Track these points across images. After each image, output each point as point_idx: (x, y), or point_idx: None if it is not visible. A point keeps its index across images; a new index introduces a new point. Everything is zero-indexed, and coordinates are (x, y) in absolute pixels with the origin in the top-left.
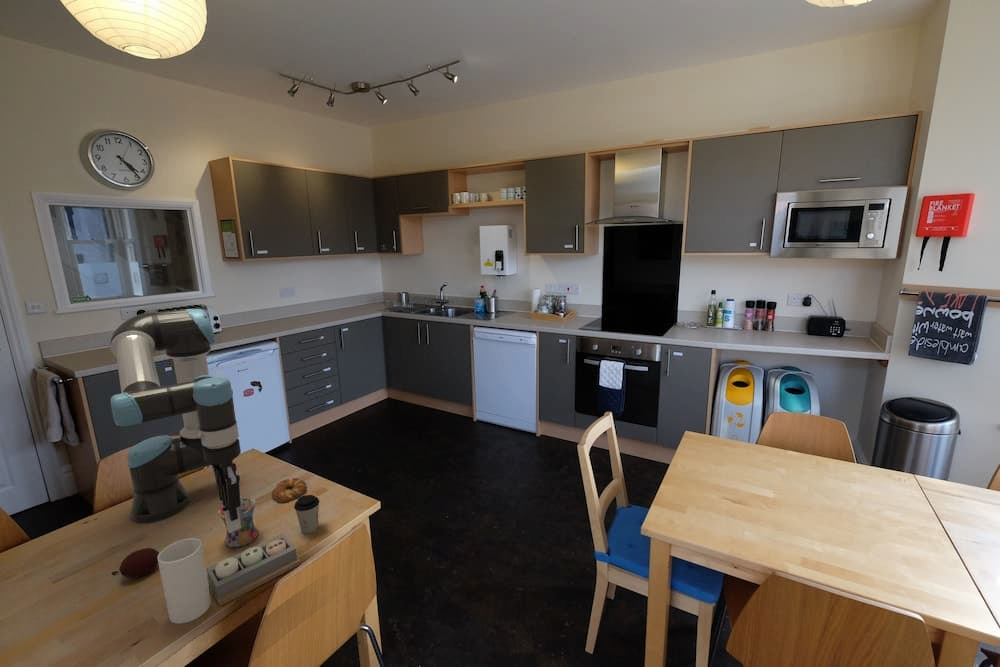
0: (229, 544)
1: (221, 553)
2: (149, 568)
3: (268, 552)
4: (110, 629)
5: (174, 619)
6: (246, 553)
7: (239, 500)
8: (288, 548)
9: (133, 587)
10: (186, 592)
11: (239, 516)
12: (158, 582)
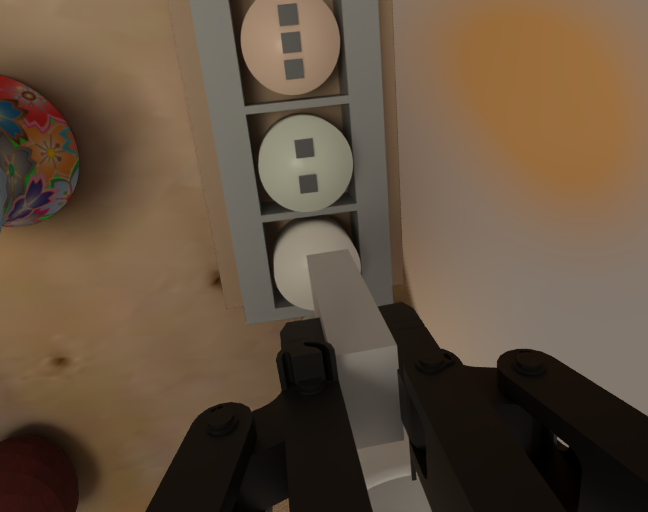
0: (49, 213)
1: (75, 240)
2: (64, 462)
3: (315, 88)
4: (283, 501)
5: None
6: (295, 187)
7: (626, 410)
8: None
9: (118, 476)
10: None
11: (366, 286)
12: (137, 421)
